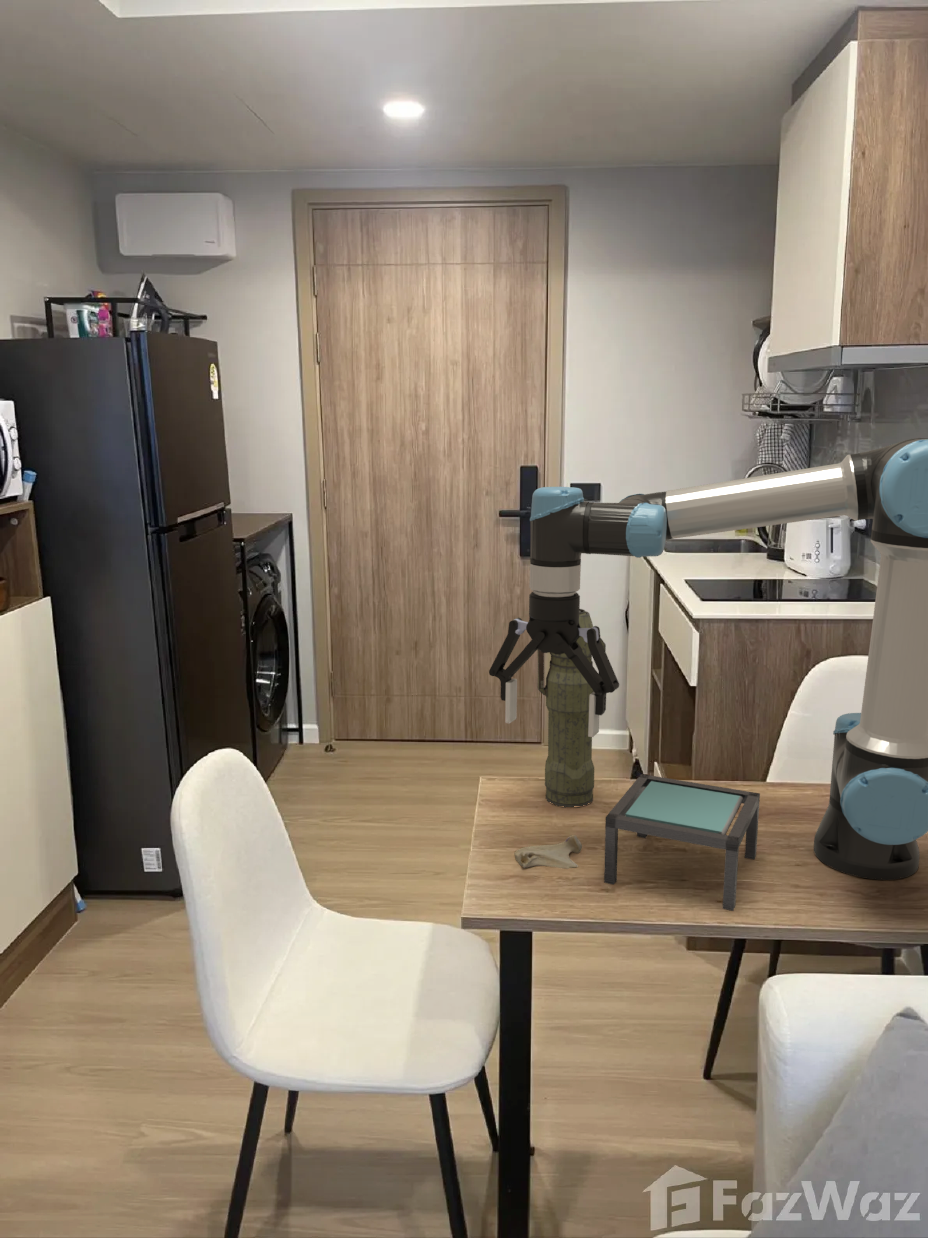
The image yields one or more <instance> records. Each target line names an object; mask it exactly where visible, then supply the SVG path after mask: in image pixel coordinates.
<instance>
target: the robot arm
mask: <svg viewBox="0 0 928 1238" xmlns="http://www.w3.org/2000/svg"><path fill="white" fill-rule="evenodd" d="M583 493H584V492H583V490H582V489H581V488H579V487H573V486H572V487H569V486H543V487H539V488H537V489H535V490H534V491H533V493H532V499H531V507H530V508H531V511H530V517H529V522H530V557H529V583H528V584H529V589H530V591H531V592H530V594H529V595H528V616H529V618H528V619H529V620H528V621H524V620H523V619H522V618H520V617H517V618H514V619H513V620H510V621H509V622H508V628H507V629H508V630H507V635H506V637H505V639H504V640H503V643H502V645H501V647H500V649H499V651H498V653H497V655H496V656H495V659H494V661H493V662H492V664H491V667H490V669H489V670H488V674H489V675H490V676H491V677H495V678H498V679H499V681H500V700H501V701H502V702H503V701H505V712H504V713H505V720H504V721H505V722H504V723H505V724H511V723H513V722H514V721H516V720H517V719H518V717H517V716H518V715H517V713H518V710H517V709H518V708H517V707H518V678H513V677H514V675H516V674H517V672H518V671H519V670H520V669H521V668H522V667H523V665H524V664H526V662H527V661H528V660H529V659H530V658H531V657H532V656H533V654H535V652H536V651H538V649H539V650H540V651H541V653H544V654H550V652H551V653H554V654H557V655H561V654H563V653H565V655H566V656H567V657H568V658H569V659H571V660H572V662H573V663H574V665H575V666H576V667H577V669H578V670H579V671H580V673H581V674H582V676H583V677H584V678H585V680H586V681H587V683H588V684H589V685H590V687H591V688H592V689H593V691H594V692H593V693H591V694H590V696H589V726H588V737H592V738H594V737H595V736H596V735H597V734H599V732H600V716H603V715H604V714H605V712H606V710H607V694H608V693H610V694H611V693H614V692H615V691H616V690H618V689H619V687H620V682H619V679H618V678H617V676H616V673H615V670H614V668H613V667H612V664H611V662H610V659H609V656H608V655H607V653H606V652H605V650H604V647H603V645H602V643H601V639H602V638H601V629H600V627H599V626H598V625H593V627H592V628H581V627H580V625H579V609H581V608H580V605H581V604H580V602H581V601H580V599H581V596H580V595H579V593H578V591H580V590H581V569H582V564H581V563H582V559H581V558H582V554H585V555H591V554H592V555H605V556H606V555H607V556H608V555H610V556H623V557H626V556H627V557H635V558H636V559H638V558H642V557H659V556H660V555H662V554H663V552H664V550H665V546H666V541H668V540H674V539H680V538H681V539H683V538H690V537H696V536H703V535H709V534H710V535H711V534H717V533H718V534H719V533H725V532H733V531H739V530H747V529H754V528H760V527H761V528H762V527H768V526H775V525H782V524H791V523H798V522H799V523H800V522H806V521H812V520H819V519H826V518H827V519H828V518H834V517H835V518H836V517H841V516H842V517H843V516H848V517H849V518H850V519H852V520H854V521H855V522H856V521H861V520H863V521H864V520H871V519H872V526H871V534H870V543H871V544H872V545H873V546H874V547H875V549H877V551H878V552H879V554H880V560H879V561H880V563H879V571H878V577H877V583H876V584H877V585H876V594H875V600H874V602H875V603H874V609H873V610H874V611H873V618H872V625H871V631H870V632H871V633H870V640H869V641H870V642H869V647H868V648H869V650H868V655H867V665H866V672H865V679H864V686H863V687H864V688H863V697H862V703H861V712H849V713H844V714H842V715H839V717H837V719H836V720H835V726H834V730H833V731H832V734H833V735H834V738H833V750H832V751H833V753H832V760H831V761H832V764H831V776H830V786H829V787H830V788H829V799H828V800H829V801H828V806H827V808H826V810H825V812H824V814H823V817H822V819H821V821H820V824H819V825H818V827H817V830H816V832H815V835H814V840H813V853H814V855H815V856H816V858H817V859H818V860H819V861H820V862H822V863H823V864H825V865H826V866H828V867H830V868H832V869H834V870H836V871H838V872H841V873H844V874H848V875H850V876H853V877H859V878H863V879H870V880H878V881H879V880H880V881H886V880H887V881H888V880H889V881H890V880H900V879H906V878H907V877H910V876H912V875H914V874H915V873H916V872H917V871H918V869H919V863H920V849H919V846H918V839H919V838H921V837H923V836H925V835H926V834H927V833H928V438H924V437H923V438H921V437H918V438H910V439H905V440H902V441H899V442H896V443H892V444H890V445H886V446H883V447H880V448H876V449H875V448H874V449H871V450H867V451H862V452H859V453H858V452H857V453H851V454H847V455H846V456H845V457H844V458H843V459H842V461H841V462H839V463H834V464H833V463H832V464H828V465H820V466H815V467H808V468H802V469H796V470H795V469H794V470H789V471H784V472H777V473H772V474H770V473H769V474H764V475H758V476H752V477H745V478H739V479H733V480H726V481H720V482H714V483H709V484H703V485H701V484H700V485H696V486H689V487H683V488H676V489H670V490H666V491H658V492H652V493H645V494H644V493H634V494H631V495H627V496H626V497H624V498H623V499H621V500H620V501H619V502H593V501H592V502H591V501H585V498H584V494H583ZM525 631H526V633H528V636H529V637H530V638H531V640H530V641H529V643H527V645H526V646H525V647H524V648H523V650H522V651H521V652H520V653H519V654H518V655H517V656H516V657H515V658H514V660H513V661H512V662H510V664H509V665H508V666H507V667H506V664H507V662H508V659H509V658H510V656H511V655H512V653H513V650H514V649H515V646H516V644H517V643H518V641H519V639H520V636H521V635H522V634H524V633H525ZM580 636H582V637H583V638H584V641H585V642H586V643H588V647H589V650H590V652H591V655H592V659H593V663H594V664H595V666H596V668H597V669H596V668H595V667H594V665H593V666H592V664H591V663H590V661H589V660H588V659H587V657H586V656H585V654H584V653H583V651H582V648H581V647H580V645H579V644H578V643H577V640H578V638H579V637H580ZM600 638H601V639H600ZM505 668H506V669H505ZM597 670H598V671H597ZM599 673H600V675H599ZM600 676H601V677H600Z"/></svg>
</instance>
